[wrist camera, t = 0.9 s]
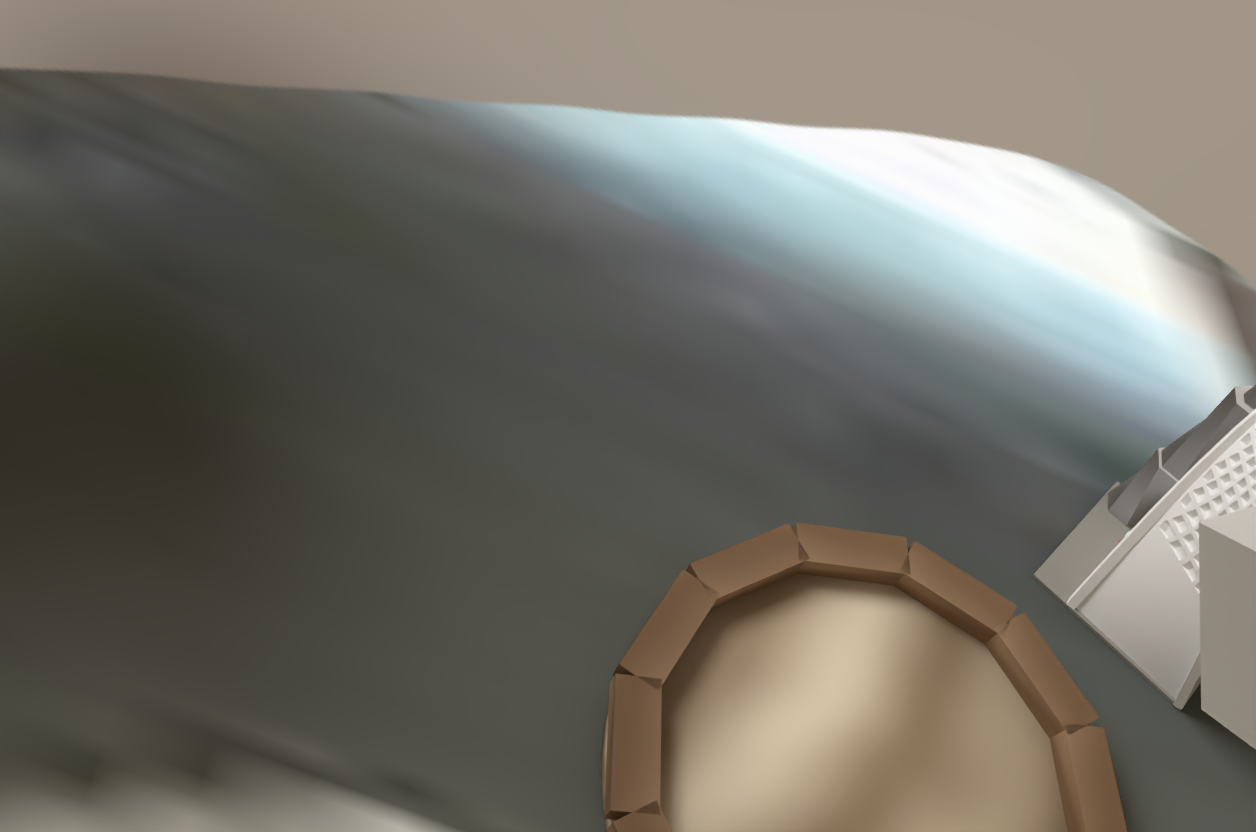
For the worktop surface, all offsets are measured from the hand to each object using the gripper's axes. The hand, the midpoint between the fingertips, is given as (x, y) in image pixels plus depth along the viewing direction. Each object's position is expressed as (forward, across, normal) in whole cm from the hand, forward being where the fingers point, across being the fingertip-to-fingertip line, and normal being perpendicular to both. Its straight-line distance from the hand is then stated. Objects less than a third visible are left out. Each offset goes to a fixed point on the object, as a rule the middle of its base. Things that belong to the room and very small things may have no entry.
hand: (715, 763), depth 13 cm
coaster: (+18, +8, -16) cm, 25 cm away
